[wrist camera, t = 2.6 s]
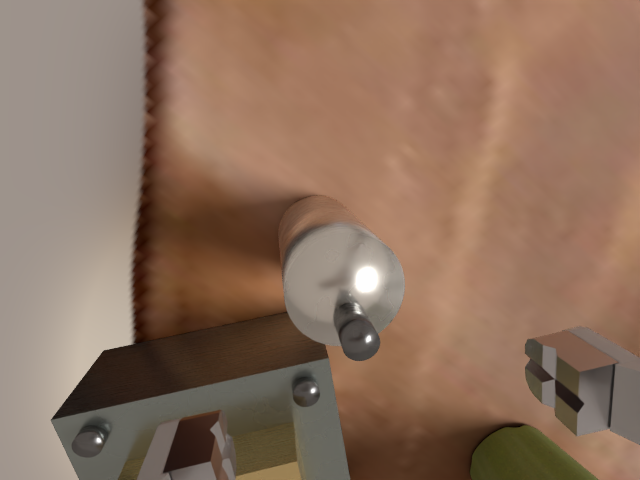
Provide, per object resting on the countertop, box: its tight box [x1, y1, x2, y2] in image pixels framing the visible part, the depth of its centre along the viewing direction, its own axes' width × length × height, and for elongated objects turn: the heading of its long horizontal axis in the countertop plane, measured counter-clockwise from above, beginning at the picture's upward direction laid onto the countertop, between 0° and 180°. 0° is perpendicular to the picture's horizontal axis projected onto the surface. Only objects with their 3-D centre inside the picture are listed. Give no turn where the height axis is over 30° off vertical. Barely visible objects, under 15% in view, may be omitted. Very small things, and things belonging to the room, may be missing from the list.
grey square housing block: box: [51, 312, 350, 480], centre depth 22 cm, size 16×14×8 cm
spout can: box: [278, 195, 405, 361], centre depth 18 cm, size 5×5×11 cm
